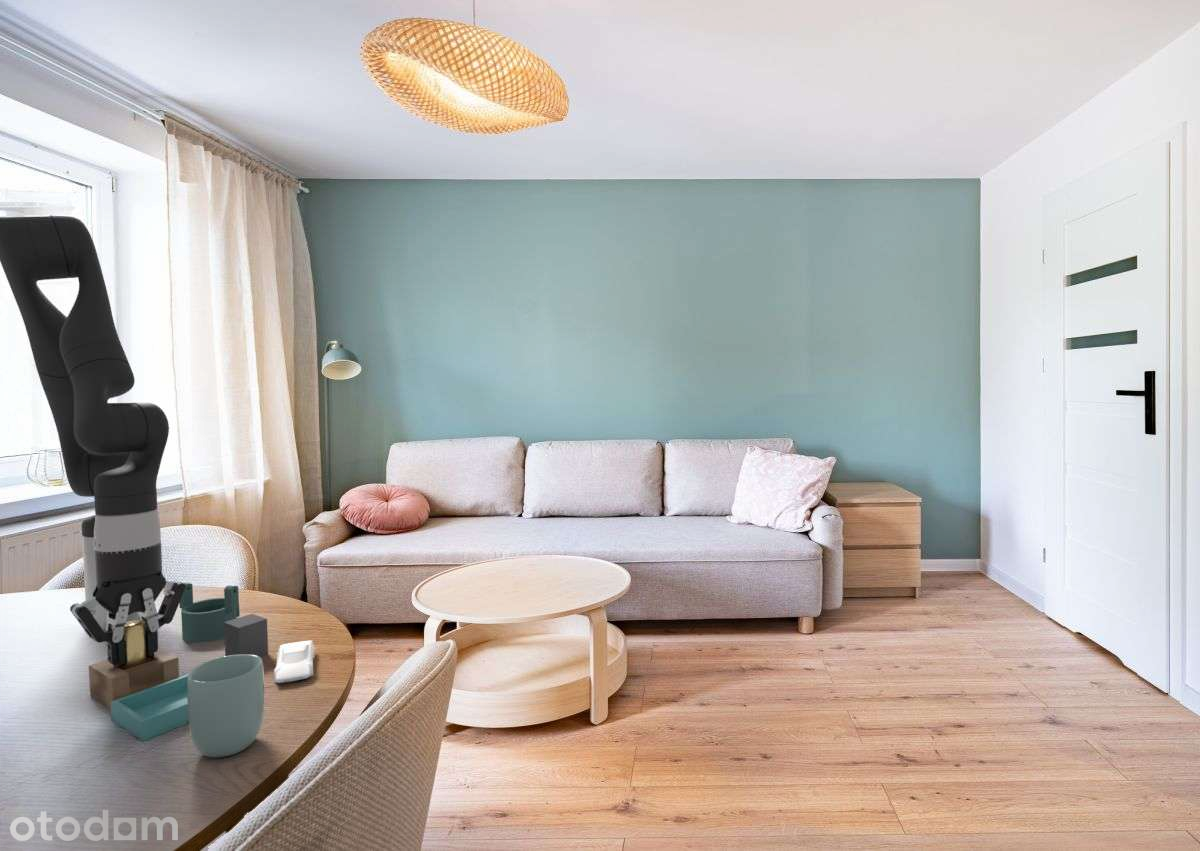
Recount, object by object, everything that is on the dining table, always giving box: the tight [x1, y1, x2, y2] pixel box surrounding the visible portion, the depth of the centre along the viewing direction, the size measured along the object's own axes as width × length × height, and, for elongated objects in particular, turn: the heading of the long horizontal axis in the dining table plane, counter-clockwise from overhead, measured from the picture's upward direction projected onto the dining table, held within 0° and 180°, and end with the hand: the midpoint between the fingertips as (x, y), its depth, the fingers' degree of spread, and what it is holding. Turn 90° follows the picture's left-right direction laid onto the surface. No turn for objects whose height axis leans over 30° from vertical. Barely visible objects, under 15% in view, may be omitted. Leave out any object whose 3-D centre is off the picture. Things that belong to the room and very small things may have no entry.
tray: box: [110, 673, 189, 742], centre depth 83 cm, size 9×12×2 cm
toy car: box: [273, 640, 316, 684], centre depth 96 cm, size 6×12×3 cm, turn 24°
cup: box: [187, 654, 265, 758], centre depth 74 cm, size 8×8×10 cm
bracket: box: [178, 582, 241, 644], centre depth 110 cm, size 9×9×9 cm
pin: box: [121, 620, 147, 670], centre depth 88 cm, size 3×3×10 cm
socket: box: [88, 647, 180, 710], centre depth 88 cm, size 8×8×4 cm
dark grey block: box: [224, 613, 269, 658], centre depth 100 cm, size 4×4×6 cm
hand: (134, 660), depth 88 cm, fingers closed on pin, 3 cm apart
